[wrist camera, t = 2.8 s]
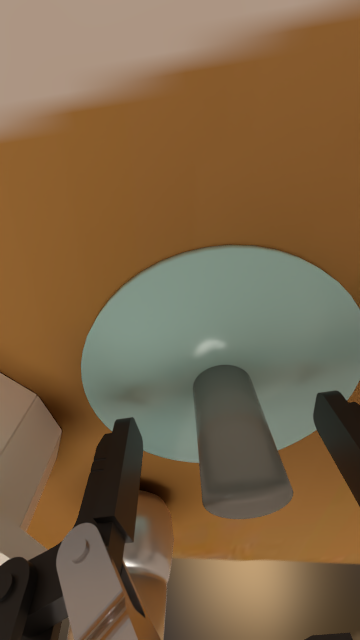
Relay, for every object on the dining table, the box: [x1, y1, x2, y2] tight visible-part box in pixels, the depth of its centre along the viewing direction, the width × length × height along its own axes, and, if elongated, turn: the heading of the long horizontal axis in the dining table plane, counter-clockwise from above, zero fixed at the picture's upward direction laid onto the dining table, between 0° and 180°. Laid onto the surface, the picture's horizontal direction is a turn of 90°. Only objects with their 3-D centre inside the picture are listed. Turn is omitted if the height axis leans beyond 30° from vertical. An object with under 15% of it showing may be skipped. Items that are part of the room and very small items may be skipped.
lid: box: [81, 245, 360, 519], centre depth 11 cm, size 14×14×6 cm
